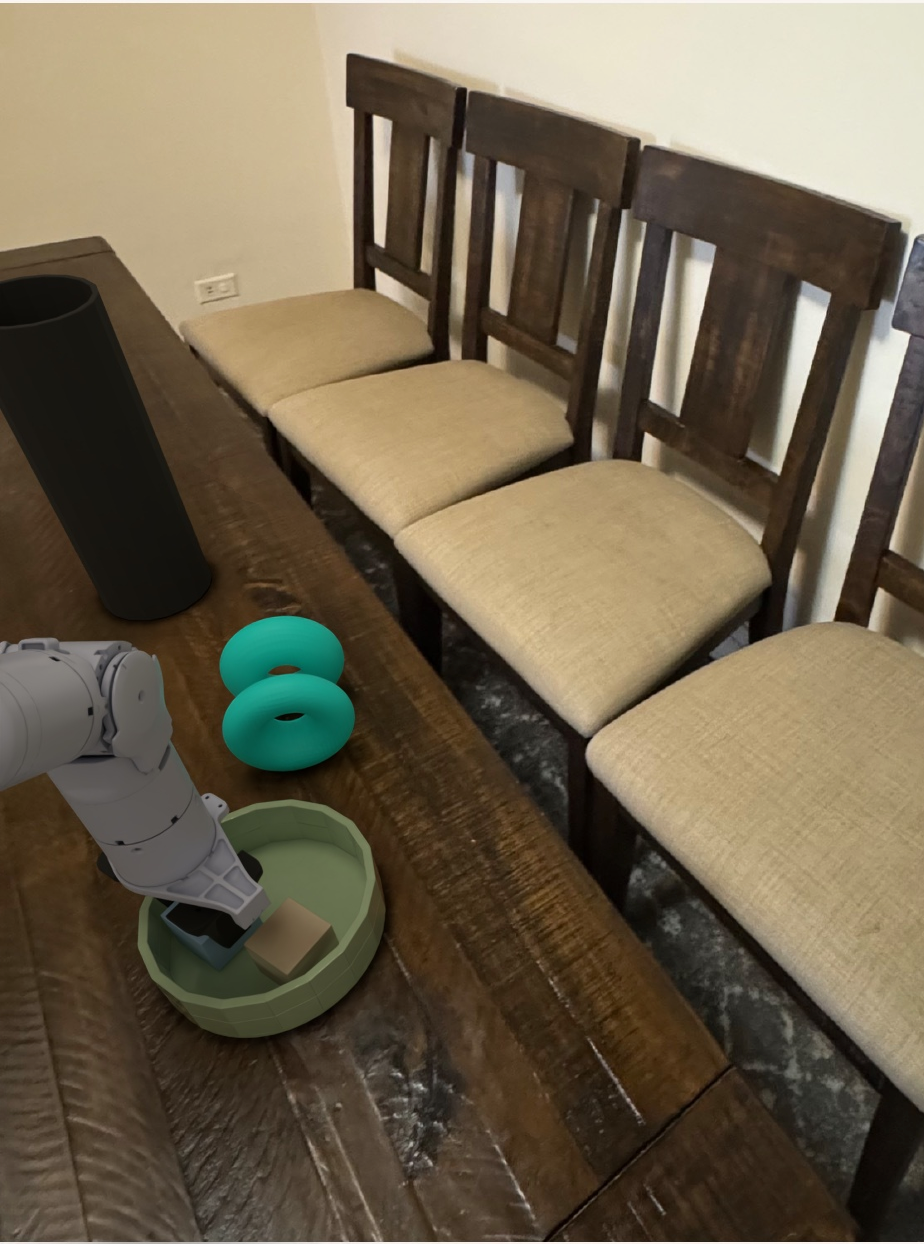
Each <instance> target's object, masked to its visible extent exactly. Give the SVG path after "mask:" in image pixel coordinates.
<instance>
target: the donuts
mask: <svg viewBox="0 0 924 1244" xmlns="http://www.w3.org/2000/svg"><path fill="white" fill-rule="evenodd" d="M281 666H282V667H283V666H292V667H296V668H298V669H299V670H297V671H295V672H292V673H284V674H278V675H277V674H272V673H270V672H271V671H272V670H273V669H276V668H278V667H281ZM344 666H345V654H344V650H343V646H342V644H341V642H340V641H339V639H338V638H337V636H336V635H335V634H334V633H333V632H332V630H330V629H329V628H327V627H326V626H324V624H321V623H320V622H317V621H315V620H313V619H309V618H306V617H302V616H296V615H295V616H293V615H279V616H278V615H277V616H271V617H265V618H263V619H259V620H256V621H254V622H251V623H249V624H247V625H245V626H244V627H242V628H241V629H240V630H238V631H237V632H236V633H235V634H234V635H232V637H231V638H230V639H229V640H228V641H227V643H226V644H225V645H224V647H223V650H222V652H221V655H220V658H219V674H220V677H221V680H222V682H223V684H224V686H225V687H226V689H227V690H228V692H230V694H231V695H232V696H234V699H233V700H232V701H231V702H230V703H229V705H228V707H227V709H226V711H225V713H224V715H223V719H222V725H221V729H222V732H221V733H222V737H223V741H224V742H225V745H226V747H227V749H228V750H229V751H230V753H232V755H233V756H235V758H237V759H238V760H239V761H241V762H242V763H244V764H246V765H248V766H250V767H253V768H257V769H258V770H259V769H260V770H264V771H270V772H271V771H272V772H290V771H291V772H293V771H298V770H303V769H307V768H310V767H313V766H316V765H319V764H321V763H323V762H324V761H326V760H328V759H330V758H331V757H333V756H334V755H335V754H337V753H338V752H339V751H340V750H341V749H342V748H343V747H344V746H345V745H346V744H347V742H348V740H349V739H350V737H351V735H352V733H353V731H354V729H355V721H356V713H355V708H354V705H353V702H352V701H351V699H350V697H349V695H348V694H347V693H346V692H345V691H344V690H343V689H342V688H341V687H340V686H339V685H338V684H337V683H338V682H339V680H340V678H341V676H342V674H343V670H344ZM288 714H303V715H302V716H300V717H299V718H295V719H292V720H280V719H276V718H278V717H280V716H283V715H288Z"/></svg>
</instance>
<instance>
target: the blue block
mask: <svg viewBox="0 0 924 1244" xmlns="http://www.w3.org/2000/svg"><path fill="white" fill-rule="evenodd" d="M178 903H179V902H176V901H175V902H174V903H173V904H172V905H171V906H170V907H168V908H167V909H166V910H165V911H164V912H163V913H162V914H161V917H162V919H163V920H164V921H165V923H166V924H167V926H168V927H169V928H170V930H171V931H172V933H173V934H174V936H175V937H176V938H177V940H178V941H179V943H180V944H182V945H183V946H185V947H186V948H187V949H189V950H190V951H191V952H193V953H194V954H195V955H197V956H198V957H200V958H201V959H202V960H204V961H205V962H206V963H208V964H209V965H211V966H212V967H213V968H215V969H216V970H217V971H220V970H221V969H222V968H223V967H224V966H225V965H226V964H227V963H228V962H229V961H230V960H231V959H232V958H233V957H234V956H235V955H236V954H237V952H238V951H239V950H240V949H241V948H242V947H243V946H244V943H245V942H246V941H247V940H248V939H249V938H250V937H251V936H252V935H253V934H254V933H255V932H256V931H257V929H258V928H259V927H260V926H261V925H262V924H263V922H262V920H261V918H260V916H259V917H258V918H257V919H256V920H255V921H254V922H253V923H252V924H251V927H250V928H249V929H248V930H247V932H246V933H245V934H244V935H243V936H242V937H241V938H240V939H239V940H238V941H237V942H236V943H235V944H234V945H233V946H232V947H231V948H229V949H227V948H224V947H222V946H221V945H219V944H218V943H216V942H215V941H214V940H212V939H211V938H210V937H208V936H206V935H204V936H200V937H196V936H193V935H190V934H188V933H186V932H184V931H183V930H182V929H180V928H179V927H177V926H176V925H175V924H173V923H172V922H170V921H169V920H168V919H167V918H166V917H165V916H166V915H167V914H168V913H169V912H170V911H171V910H172V909H173V908H174V907H175V906H176V905H177V904H178Z"/></svg>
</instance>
